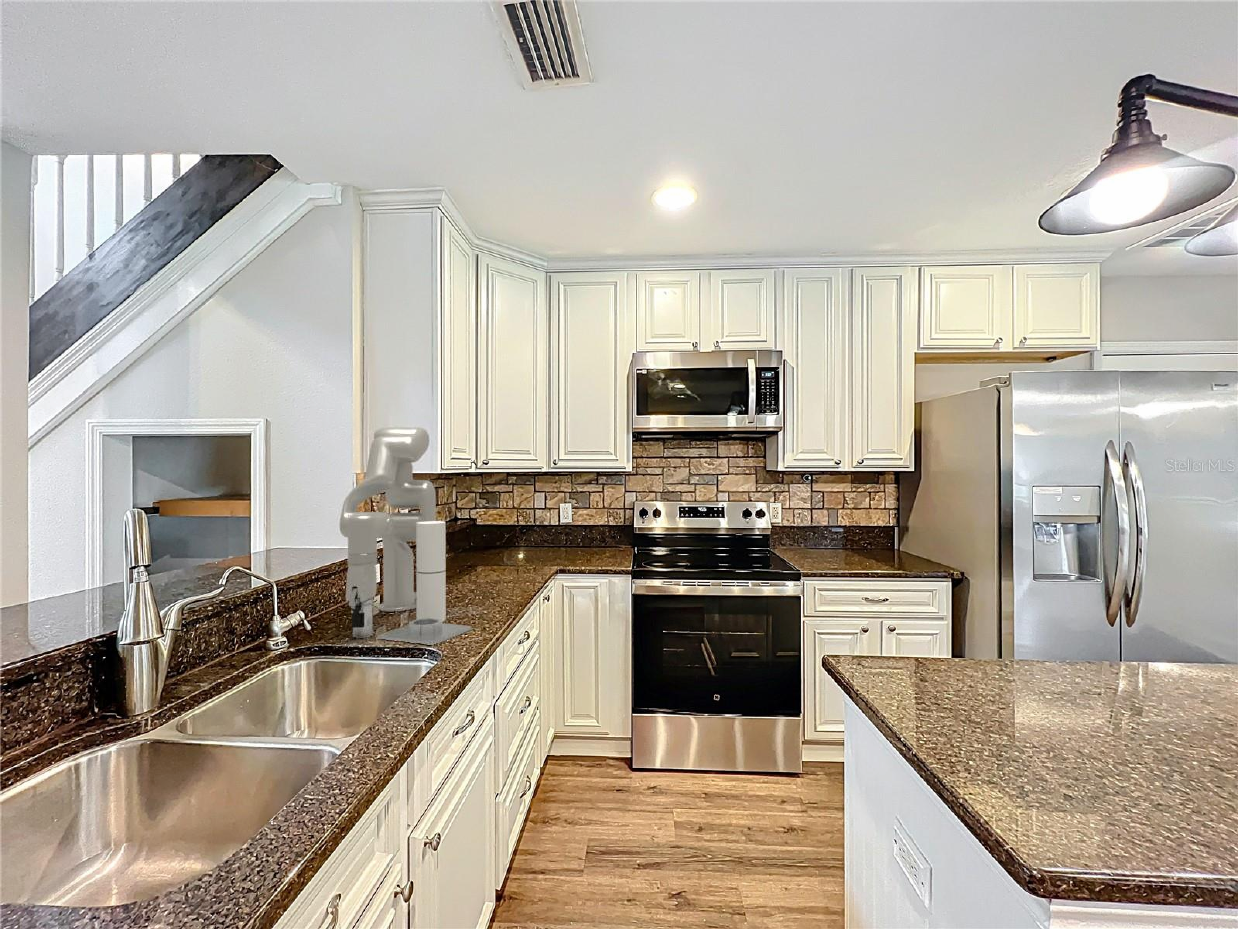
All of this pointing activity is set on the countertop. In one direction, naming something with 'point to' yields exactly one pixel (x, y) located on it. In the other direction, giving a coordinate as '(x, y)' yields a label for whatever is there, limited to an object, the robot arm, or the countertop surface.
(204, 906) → the countertop surface
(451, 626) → the flange
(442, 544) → the container
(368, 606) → the grey cylinder
